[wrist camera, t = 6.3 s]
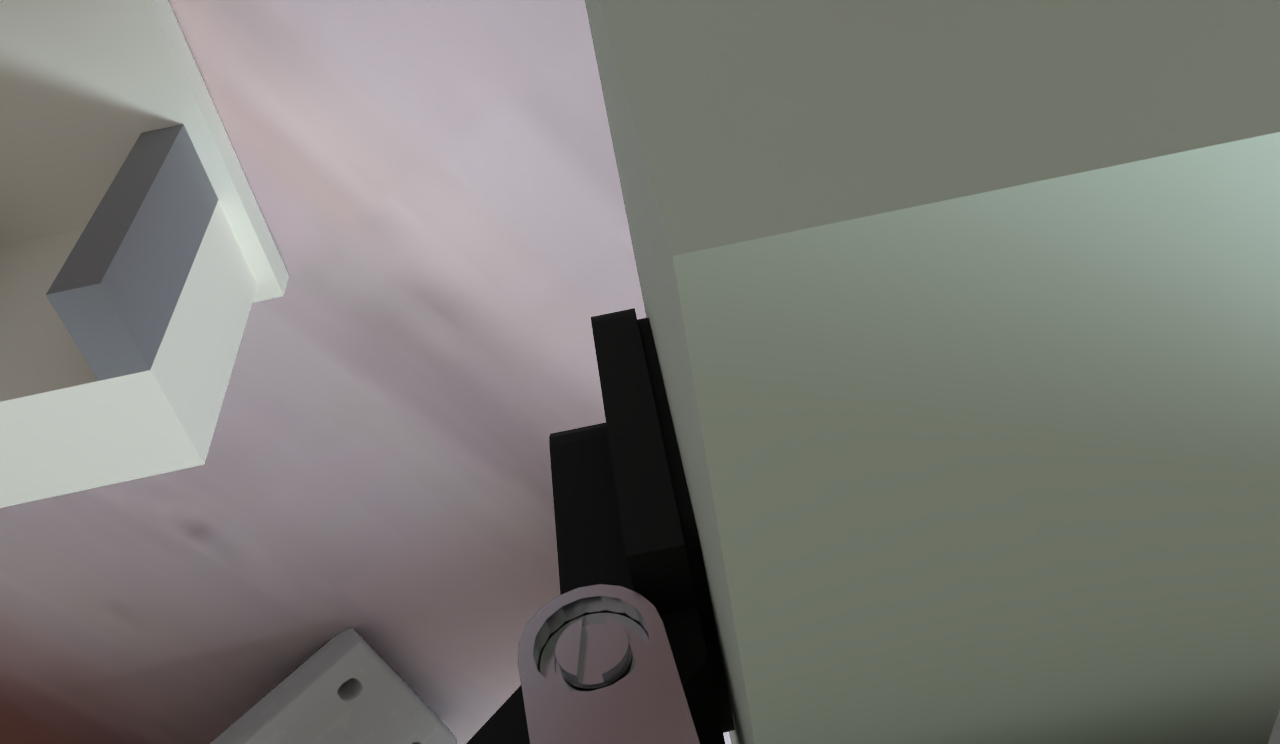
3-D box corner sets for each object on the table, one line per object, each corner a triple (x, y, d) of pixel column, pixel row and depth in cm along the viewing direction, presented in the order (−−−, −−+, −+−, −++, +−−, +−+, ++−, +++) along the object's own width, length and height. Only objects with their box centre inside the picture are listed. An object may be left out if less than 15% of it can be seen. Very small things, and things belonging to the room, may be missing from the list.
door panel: (856, -205, 10) (1484, 90, 4) (886, 603, 17) (1122, 1185, 11) (557, -143, 10) (673, 256, 4) (709, 639, 17) (839, 1243, 11)
